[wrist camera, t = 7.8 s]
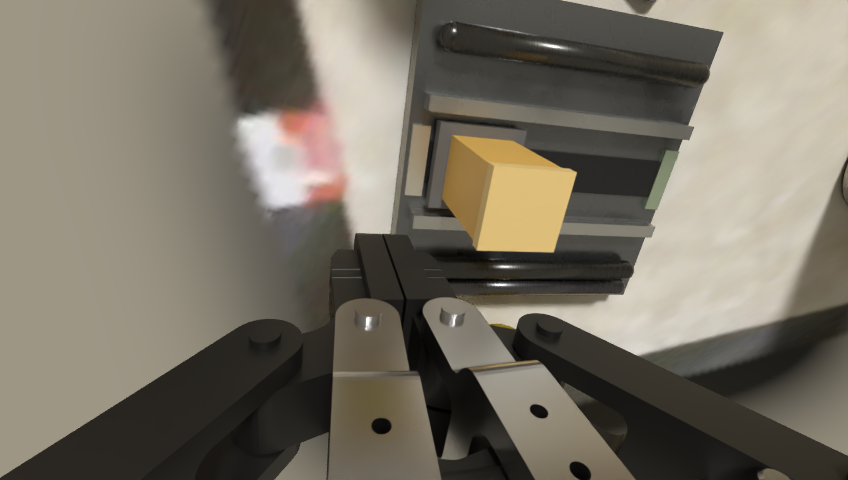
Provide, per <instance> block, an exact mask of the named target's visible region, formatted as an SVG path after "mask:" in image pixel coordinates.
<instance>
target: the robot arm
mask: <svg viewBox="0 0 848 480" xmlns="http://www.w3.org/2000/svg"><path fill="white" fill-rule="evenodd" d="M843 195H844V198H845V200H846V202H847V203H848V165H847V168H846V171H845V174H844V180H843ZM328 305H329V321H330V322H329V323H327V324H326V325H325V326H323V327H321V328H319V329H317V330H314V331H311V332H307V333H303V334H302V333H301V331H300V330H299V329H298V328H297V327H296V326H295V325H293V324H291V323H289V322H286V321H283V320H276V319H263V320H256V321H252V322H249V323H246V324H244V325H242V326H240V327H238V328H236V329H235V330H233V331H232V332H230V333H228V334H227V335H225V336H224V337H222V338H220V339H219V340H217V341H216V342H214V343H213V344H211V345H209V346H208V347H206V348H205V349H203V350H201V351H200V352H198V353H197V354H195V355H194V356H192V357H191V358H189V359H187V360H186V361H184V362H183V363H181V364H179V365H178V366H176V367H175V368H173V369H171V370H170V371H168V372H167V373H165V374H164V375H162V376H160V377H159V378H157V379H156V380H154V381H153V382H151V383H149V384H148V385H146V386H145V387H143V388H141V389H140V390H138V391H137V392H135V393H134V394H132V395H130V396H129V397H127V398H126V399H124V400H123V401H121V402H119V403H118V404H116V405H115V406H113V407H111V408H110V409H108V410H107V411H105V412H103V413H102V414H100V415H99V416H97V417H96V418H94V419H93V420H91V421H89V422H88V423H86V424H84V425H83V426H82V427H80V428H78V429H77V430H75V431H74V432H72V433H70V434H69V435H67V436H66V437H64V438H63V439H61V440H59V441H58V442H56V443H54V444H53V445H51V446H50V447H48V448H47V449H45V450H43V451H42V452H40V453H39V454H37V455H35V456H34V457H32V458H31V459H29V460H28V461H26V462H24V463H23V464H21V465H20V466H18V467H16V468H15V469H13V470H12V471H10V472H9V473H7V474H6V475H4V476H2V477H1V478H0V480H274V479H275V478H276V477H277V476H278V475H279V473H280V472H281V471H282V470H283V469H284V468H285V467H286V466H287V465H288V463H289V462H290V461H291V460H292V459H293V458H294V456H295V455H296V454H297V452H298V450H299V447H300V443H301V442H304V441H306V440H308V439H311V438H314V437H316V436H319V435H322V434H324V433H327V432H329V439H328V459H327V479H326V480H848V456H847V455H845V454H843V453H840V452H839V451H836V450H834V449H832V448H830V447H828V446H826V445H824V444H822V443H820V442H817V441H815V440H813V439H811V438H809V437H807V436H805V435H803V434H801V433H799V432H796V431H794V430H792V429H790V428H788V427H786V426H784V425H782V424H779V423H777V422H775V421H773V420H771V419H769V418H767V417H765V416H763V415H761V414H759V413H756V412H754V411H752V410H750V409H748V408H746V407H744V406H742V405H740V404H737V403H735V402H733V401H731V400H729V399H726V398H725V397H723V396H720V395H719V394H716V393H714V392H712V391H710V390H708V389H706V388H704V387H701V386H700V385H697V384H695V383H693V382H691V381H689V380H687V379H685V378H683V377H681V376H679V375H676V374H674V373H672V372H670V371H668V370H666V369H664V368H662V367H660V366H657V365H655V364H653V363H651V362H649V361H647V360H645V359H643V358H641V357H639V356H636V355H634V354H632V353H630V352H628V351H626V350H624V349H622V348H620V347H617V346H615V345H613V344H611V343H609V342H607V341H605V340H603V339H601V338H598V337H596V336H594V335H592V334H590V333H588V332H586V331H584V330H582V329H580V328H577V327H575V326H573V325H571V324H569V323H567V322H565V321H563V320H561V319H558V318H556V317H553V316H550V315H546V314H540V313H532V314H527V315H524V316H522V317H521V318H520V319H519V321H518V324H517V328H516V329H510V328H505V327H499V326H494V325H489V324H488V322H487V321H486V320H485V318H484V317H483V316H482V314H481V313H480V311H479V310H478V309H477V308H476V307H474V306H473V305H471V304H470V303H468V302H465V301H463V300H460V299H457V297H456V295H455V294H454V292H453V290H452V288H451V286H450V284H449V283H448V281H447V279H446V278H445V275H444V273H443V272H442V270H441V268H440V266H439V264H438V262H437V261H436V259H435V258H433V257H432V256H431V255H429V254H428V253H427V252H425V251H415V249H414V247H413V245H412V243H411V241H410V239H409V237H408V235H405V234H365V233H356V234H355V240H354V250H342V249H338V250H337V251H336V252H335V253H334V255H333V256H332V257H331V263H330V283H329V303H328ZM565 383H567V384H569V385H571V386H572V387H574V388H576V389H578V390H580V391H581V392H583V393H585V394H587V395H589V396H590V397H592V398H594V399H596V400H598V401H599V402H601V403H603V404H605V405H607V406H608V407H610V408H612V409H614V410H615V411H617V412H618V413H620V414H621V416H622V417H623V418H624V419H625V421H626V423H627V427H628V431H627V432H626V433H625V434H623V435H613V434H610V433H608V432H606V431H605V430H603V429H601V428H600V427H598V426H596V425H595V424H593V423H591V422H590V421H588V420H587V418H586V417H585V416H584V415H583V413H582V412H581V411H580V410H579V408H578V407H577V406H576V405H575V403H574V402H573V401H572V400H571V398H570V397H569V396H568V395H567V393H566V392H565V391H564V390H563V388H564V385H565Z"/></svg>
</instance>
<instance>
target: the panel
mask: <svg viewBox="0 0 848 480" xmlns="http://www.w3.org/2000/svg"><path fill="white" fill-rule="evenodd" d="M723 33H724V32H719V31H714V30H709V29H704V28H699V27H694V26H689V25H683V24H678V23H673V22H668V21H663V20H658V19H653V18H648V17H643V16H638V15H633V14H628V13H623V12H618V11H612V10H607V9H602V8H597V7H592V6H587V5H582V4H577V3H572V2H567V1H562V0H417V8H416V16H415V25H414V34H413V42H412V51H411V60H410V69H409V77H408V86H407V95H406V104H405V112H404V121H403V130H402V139H401V147H400V156H399V165H398V174H397V182H396V191H395V200H394V209H393V217H392V226H391V234H405V235H408V237H409V239H410V241H411V243H412V245H413V247H414V249H415V251H425V252H427V253H428V254H429V255H431V256H432V257H433V258H435V259H436V261H437V262H438V264H439V266H440V268H441V270H442V272H443V273H444V275H445V278H446V279H447V281H448V283H449V284H450V286H451V288H452V290H453V292H454V294H455V295H623V294H624V291H625V289H626V286H627V283H628V281H629V278H630V277H632V275H633V273H634V265H635V262H636V260H637V257H638V255H639V252H640V249H641V247H642V244H643V242H644V239H645V237H652V234H653V232H654V229H655V226H653V225H652V224H650V223H651V221H652V218H653V215H654V213H655V210H657V208H658V206H659V203H660V200H661V198H662V195H663V193H664V190H665V187H666V185H667V182H668V180H669V177H670V174H671V172H672V169H673V166H674V164H675V161H676V159H677V156H678V153H679V151H678V150H679V148H680V145H681V142H682V140H689V139H690V136H691V134H692V131H693V129H694V127H692V126H688V124H689V121H690V119H691V116H692V114H693V111H694V108H695V106H696V103H697V101H698V98H699V95H700V93H701V90H702V87H703V85H704V84H705V83H706V82H707V80H708V78H709V76H710V70H709V69H710V67H711V64H712V61H713V59H714V56H715V54H716V51H717V48H718V46H719V43H720V40H721V38H722V35H723ZM437 120H447V121H456V122H465V123H475V124H484V125H494V126H503V127H512V128H521V129H523V130H526V131H527V134H526V139H525V143H524V147H525V148H527V149H529V150H530V151H532V152H534V153H536V154H538V155H539V156H541V157H543V158H545V159H547V160H548V161H550V162H552V163H554V164H556V165H557V166H559V167H561V168H567V169H571V170H573V171H575V172H577V174H576V178H575V181H574V185H573V188H572V191H571V195H570V198H569V202H568V205H567V209H566V212H565V215H564V219H563V222H562V226H561V229H560V233H559V236H558V239H557V243H556V246H555V250H554V252H516V251H477V250H476V249H475V247H474V246H473V245H472V244H473V239H472V238H471V237H470V236H469V234H468V233H467V232H466V230H465V229H464V228H463V226H462V225H461V224H460V222H459V221H458V220H457V218H456V217H455V216H454V214H453V213H452V212H451V210H450V209H444V208H428V206H427V205H426V203H425V201H426V194H427V187H428V180H429V173H430V166H431V160H432V153H433V146H434V139H435V132H436V125H437Z"/></svg>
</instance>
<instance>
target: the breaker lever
mask: <svg viewBox="0 0 848 480" xmlns="http://www.w3.org/2000/svg"><path fill="white" fill-rule="evenodd" d="M526 134H527V131H526V130H523V129H521V128H512V127H503V126H494V125H484V124H475V123H465V122H456V121H447V120H437V125H436V132H435V139H434V146H433V153H432V160H431V166H430V173H429V180H428V187H427V194H426V201H425V203H426V205H427V206H428V208H444V209H450V210H451V212H452V213H453V214H454V216H455V217H456V218H457V220H458V221H459V222H460V224H461V225H462V226H463V228H464V229H465V230H466V232H467V233H468V234H469V236H470V237H471V238H472V239H473V244H472V245H473V246H474V247H475V249H476V250H477V251H516V252H554V250H555V246H556V243H557V239H558V236H559V233H560V229H561V226H562V222H563V219H564V215H565V212H566V209H567V205H568V202H569V198H570V195H571V191H572V188H573V185H574V181H575V178H576V174H577V172H575V171H573V170H571V169H567V168H561V167H559V166H557V165H556V164H554V163H552V162H550V161H548V160H547V159H545V158H543V157H541V156H539V155H538V154H536V153H534V152H532V151H530V150H529V149H527V148H525V147H524V143H525V139H526Z"/></svg>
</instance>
